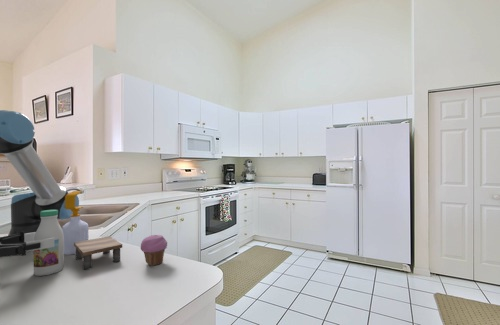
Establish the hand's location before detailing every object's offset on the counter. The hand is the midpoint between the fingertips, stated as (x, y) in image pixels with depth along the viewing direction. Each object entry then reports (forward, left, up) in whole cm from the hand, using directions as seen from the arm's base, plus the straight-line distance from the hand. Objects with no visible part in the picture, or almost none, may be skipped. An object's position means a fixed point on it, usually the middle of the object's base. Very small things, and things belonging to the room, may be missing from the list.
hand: (51, 237), depth 81 cm
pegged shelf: (0, +13, -11) cm, 17 cm away
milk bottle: (0, -1, -11) cm, 11 cm away
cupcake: (+19, +26, -11) cm, 34 cm away
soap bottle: (-18, +9, -11) cm, 23 cm away
